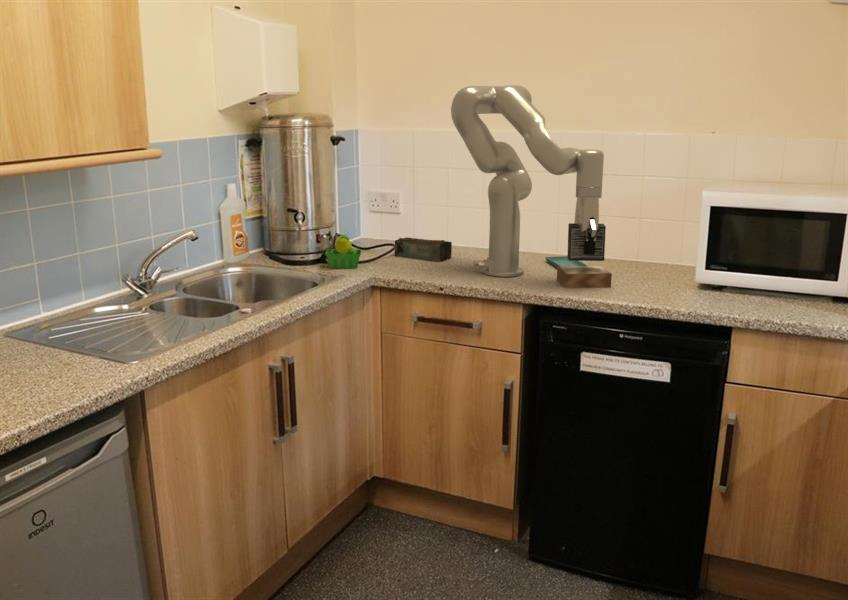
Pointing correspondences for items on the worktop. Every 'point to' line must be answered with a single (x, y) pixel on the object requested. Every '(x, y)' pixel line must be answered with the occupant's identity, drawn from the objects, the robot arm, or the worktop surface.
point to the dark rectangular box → (423, 249)
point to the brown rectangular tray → (583, 276)
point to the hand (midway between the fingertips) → (585, 251)
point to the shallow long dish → (563, 261)
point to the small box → (577, 244)
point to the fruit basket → (343, 254)
